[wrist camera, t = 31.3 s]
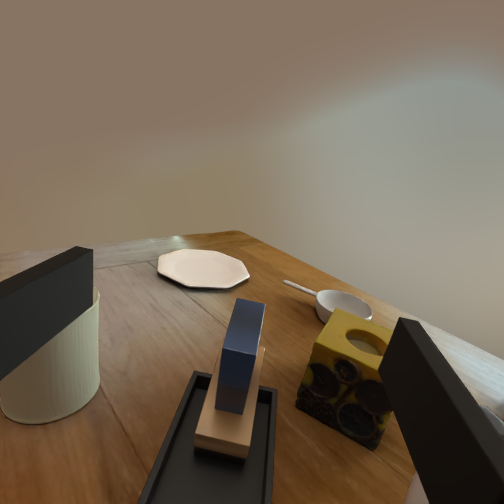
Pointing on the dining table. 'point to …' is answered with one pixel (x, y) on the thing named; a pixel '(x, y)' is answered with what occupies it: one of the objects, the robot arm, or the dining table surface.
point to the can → (56, 374)
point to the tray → (209, 469)
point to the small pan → (336, 303)
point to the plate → (202, 269)
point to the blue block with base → (233, 388)
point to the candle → (348, 378)
